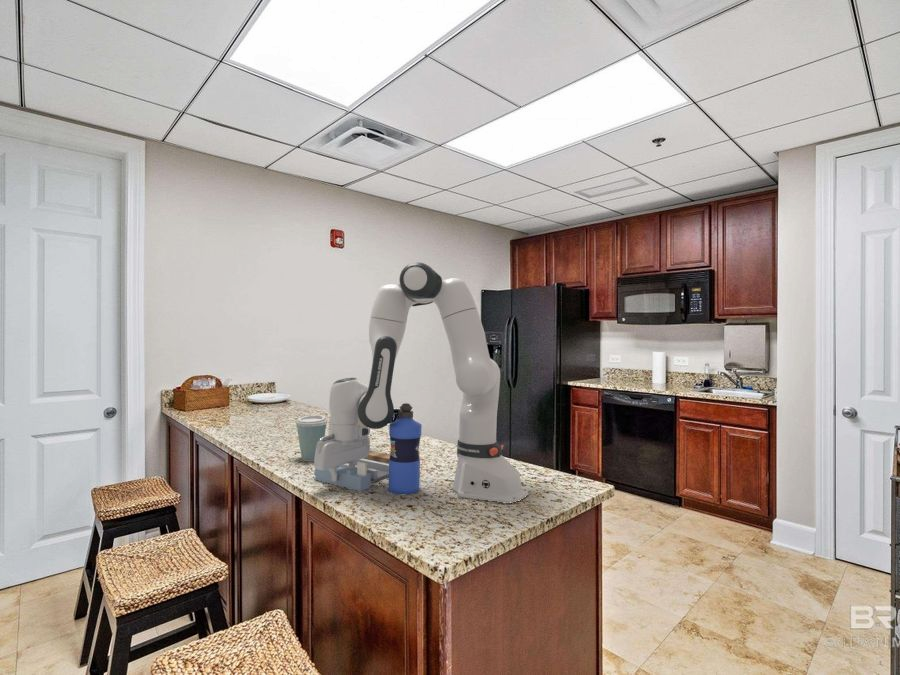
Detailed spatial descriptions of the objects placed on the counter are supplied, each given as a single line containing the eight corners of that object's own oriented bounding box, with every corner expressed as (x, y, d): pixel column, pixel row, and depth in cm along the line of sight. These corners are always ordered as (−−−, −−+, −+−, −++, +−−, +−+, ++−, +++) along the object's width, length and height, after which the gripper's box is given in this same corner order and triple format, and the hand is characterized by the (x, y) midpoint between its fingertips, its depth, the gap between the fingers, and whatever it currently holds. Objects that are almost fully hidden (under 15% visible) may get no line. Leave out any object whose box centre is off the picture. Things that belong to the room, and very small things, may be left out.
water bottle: (390, 495, 132) (392, 406, 132) (385, 485, 141) (388, 401, 140) (422, 493, 134) (425, 406, 134) (416, 483, 143) (418, 401, 143)
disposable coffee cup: (317, 464, 161) (318, 420, 160) (288, 462, 163) (290, 418, 163) (331, 457, 171) (332, 415, 171) (304, 454, 173) (305, 414, 173)
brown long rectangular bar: (410, 466, 163) (410, 458, 163) (401, 470, 158) (401, 461, 158) (365, 457, 173) (365, 449, 173) (356, 460, 168) (356, 452, 168)
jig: (396, 473, 152) (396, 464, 152) (374, 482, 143) (374, 472, 143) (345, 462, 164) (346, 454, 164) (322, 470, 154) (322, 461, 154)
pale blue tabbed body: (370, 487, 138) (371, 461, 138) (360, 491, 134) (360, 465, 134) (321, 475, 148) (322, 451, 148) (310, 478, 145) (311, 454, 145)
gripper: (325, 439, 130) (324, 489, 130) (373, 428, 148) (372, 472, 148) (309, 436, 134) (308, 485, 134) (358, 425, 151) (357, 468, 151)
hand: (342, 478), depth 141 cm, fingers closed on pale blue tabbed body, 4 cm apart
